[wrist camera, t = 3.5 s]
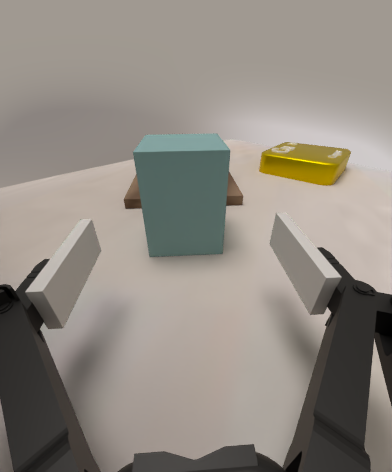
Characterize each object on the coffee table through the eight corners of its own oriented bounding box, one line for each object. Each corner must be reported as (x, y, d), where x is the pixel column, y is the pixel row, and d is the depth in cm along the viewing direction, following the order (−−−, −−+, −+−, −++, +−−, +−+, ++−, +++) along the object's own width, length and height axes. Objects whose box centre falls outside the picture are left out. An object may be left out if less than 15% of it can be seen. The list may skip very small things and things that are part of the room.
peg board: (125, 208, 34) (116, 165, 30) (140, 174, 47) (136, 141, 44) (242, 204, 35) (247, 162, 31) (224, 172, 48) (227, 140, 44)
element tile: (330, 188, 41) (339, 162, 38) (255, 173, 49) (258, 150, 46) (345, 169, 51) (353, 147, 48) (281, 159, 58) (285, 139, 56)
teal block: (149, 257, 24) (133, 152, 18) (156, 220, 31) (145, 134, 25) (222, 253, 25) (230, 149, 18) (213, 218, 31) (216, 133, 25)
